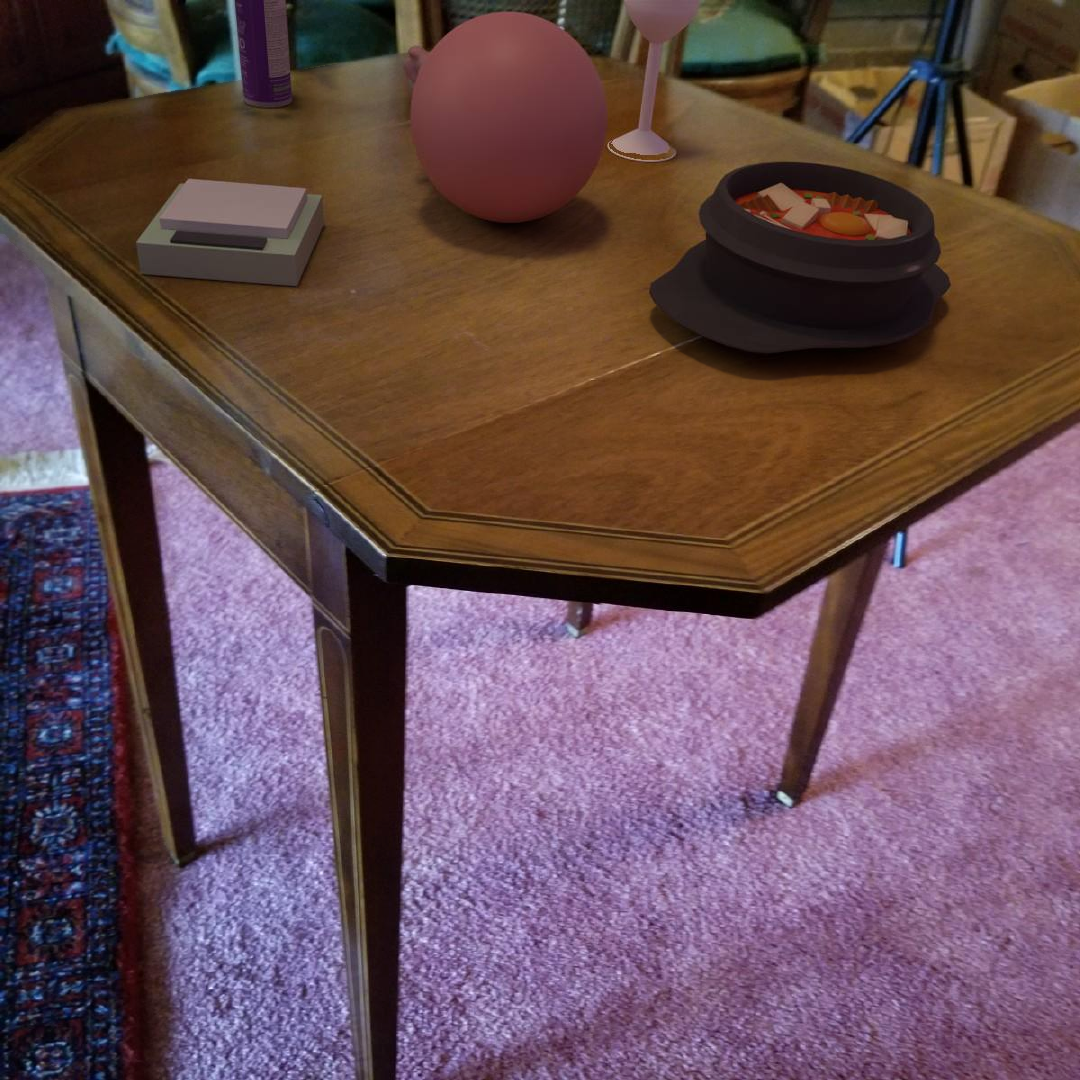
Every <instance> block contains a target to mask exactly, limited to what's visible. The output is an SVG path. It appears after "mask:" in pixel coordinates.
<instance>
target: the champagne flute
mask: <svg viewBox="0 0 1080 1080" xmlns="http://www.w3.org/2000/svg"><path fill="white" fill-rule="evenodd" d="M623 3H624V8H625V10H626V13H627V16H628V17H629V19H630V21H631V22H632V24H633V25H634V26H635V28H636V29H637V31H638V32H639V33H640V35H641V36H642V37H643V38H644V39H645V40H647V41H648V42H649V43H648V50H647V59H646V66H645V72H644V73H645V76H644V83H643V89H642V96H641V97H642V98H641V104H640V111H639V112H640V113H639V119H638V127H637V128H635V129H633V130H631V131H629V132H627V133H625V134H623V135H620V136H619V137H616V138H614V139H612V140H613V141H612V140H610V141H609V142H608V143H607V149H608V151H610V152H611V153H612V154H614V155H615V156H619V157H621V158H624V159H627V160H631V161H637V162H649V163H657V162H664V161H668V160H671V159H673V158H674V157H676V155H677V152H676V149H675V148H674V147H673V149H674V151H675V153H674V155H672V156H671V157H669V158H666V159H660V160H641V159H634V158H630V157H626V156H623V155H620V154H618V153H616V152H614V151H613V150H612V149H610V147H609V143H610V142H611V141H612V143H611V144H613V146H614V147H615V148H616V149H617V150H619V151H621V152H624V153H636V154H640V155H659V154H662V153H668V151H669V149H670V147H669V145H670V144H669V143H668V142H667V141H666V140H664V139H663V138H661V136H659V135H658V134H657V133H655V132H654V131H653V130H652V123H653V114H654V108H655V107H654V106H655V99H656V94H657V93H656V92H657V86H658V79H659V71H660V64H661V56H662V49H663V44H664V43H666V42H669V41H670V40H672V38H675V37H676V36H677V35H678V34H679V33H680V32H682V31H683V30H684V29H685V28H686V27H688V25H689V24H690V23H691V22H692V20H693V19H694V17H695V16H696V15H697V13H698V11H699V9H700V0H623ZM668 144H669V145H668Z"/></svg>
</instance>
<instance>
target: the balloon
mask: <svg viewBox="0 0 1080 1080" xmlns="http://www.w3.org/2000/svg"><path fill="white" fill-rule="evenodd" d="M579 43H580V42H578V41H577V40H576V39H575V38H574V37H572V36H571V35H570V34H569V33H568V32H567V31H565V30H564V29H563V28H561V27H560V26H558V25H557V24H555V23H553V22H551V21H550V20H548V19H545V18H543V17H540V16H537V15H535V14H530V13H526V12H522V11H521V12H519V11H495V12H489V13H485V14H481V15H478V16H476V17H473V18H471V19H468V20H466V21H464V22H462V23H461V24H459V25H457V26H456V27H454V28H453V29H452V30H450V31H449V32H448V33H447V34H445V35H444V36H443V37H442V38H441V39H440V40H439V41H438V42H437V43H436V45H435V46H434V47H433V48H432V49H431V51H427V50H425V49H424V48H423V47H421V46H420V45H412V46H411V47H409V48H408V50H407V53H408V55H409V56H408V57H407V58H405V60H404V62H403V66H402V67H403V71H404V73H405V75H406V77H407V78H408V80H409V79H410V80H411V81H412V82H413V83H414V84H415V85H414V89H413V94H412V96H411V101H410V110H409V121H410V122H409V124H410V132H411V139H412V143H413V146H414V150H415V154H416V155H417V158H418V161H419V163H420V165H421V167H422V169H423V171H424V173H425V175H426V176H427V178H428V179H429V181H430V182H431V183H432V185H433V186H434V187H435V188H436V190H437V192H439V193H440V194H441V195H442V196H443V197H444V198H445V199H446V200H447V201H449V202H450V203H451V204H452V205H454V206H455V207H457V208H458V209H460V210H462V211H463V212H465V213H467V214H469V215H471V216H473V217H476V218H479V219H481V220H485V221H489V222H493V223H502V224H518V223H525V222H526V223H527V222H531V221H535V220H537V219H541V218H543V217H546V216H548V215H550V214H552V213H554V212H556V211H557V210H559V209H561V208H562V207H565V205H566V204H568V203H569V202H571V201H572V200H573V199H574V198H575V197H576V196H577V195H578V194H579V193H580V192H581V191H582V190H583V188H584V187H585V186H586V185H587V183H588V182H589V180H590V179H591V177H592V176H593V174H594V172H595V170H596V168H597V166H598V164H599V162H600V160H601V157H602V155H603V154H602V153H603V151H604V147H605V143H606V138H607V131H608V104H607V99H606V94H605V90H604V86H603V82H602V79H601V77H600V75H599V72H598V70H597V69H596V66H595V64H594V62H593V61H592V60H591V57H590V56H589V54H588V53H587V52H586V50H585V49H584V48H583V47H582V46H581V44H579Z"/></svg>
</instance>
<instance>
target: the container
mask: <svg viewBox="0 0 1080 1080" xmlns="http://www.w3.org/2000/svg"><path fill="white" fill-rule="evenodd" d="M233 1H234V10H235V21H236V32H237V33H236V34H237V41H238V43H237V44H238V52H239V54H238V55H239V63H240V64H239V65H240V74H241V75H240V77H241V85H242V96H243V97H242V98H243V102H244V103H245V104H247V105H249V106H252V107H256V108H264V109H270V108H271V109H273V108H281V107H287V106H289V105H290V104H291V103H292V101H293V95H292V80H291V79H292V78H291V77H292V76H291V65H290V64H291V63H290V48H289V32H288V17H287V2H286V0H233Z"/></svg>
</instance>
